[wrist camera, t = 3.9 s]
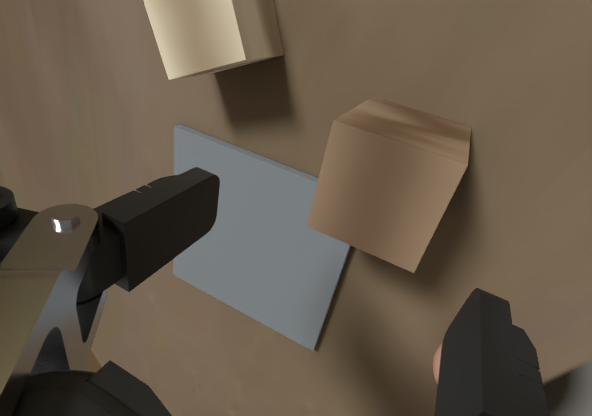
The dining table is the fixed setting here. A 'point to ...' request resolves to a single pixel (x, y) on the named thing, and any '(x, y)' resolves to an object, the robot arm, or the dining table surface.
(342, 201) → the walnut block
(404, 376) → the dining table surface
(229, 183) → the mat
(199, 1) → the beech block
